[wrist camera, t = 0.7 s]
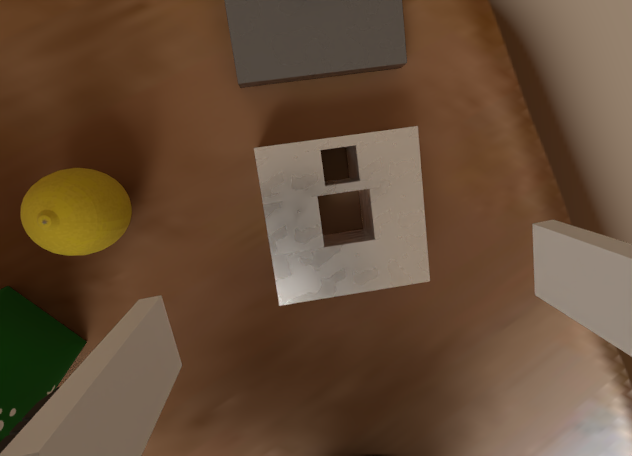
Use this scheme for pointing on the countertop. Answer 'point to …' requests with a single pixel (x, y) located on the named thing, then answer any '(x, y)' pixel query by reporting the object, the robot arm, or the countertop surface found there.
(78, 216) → the lemon
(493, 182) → the countertop surface
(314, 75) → the fixture
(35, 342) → the milk carton
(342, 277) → the white boxy piece
